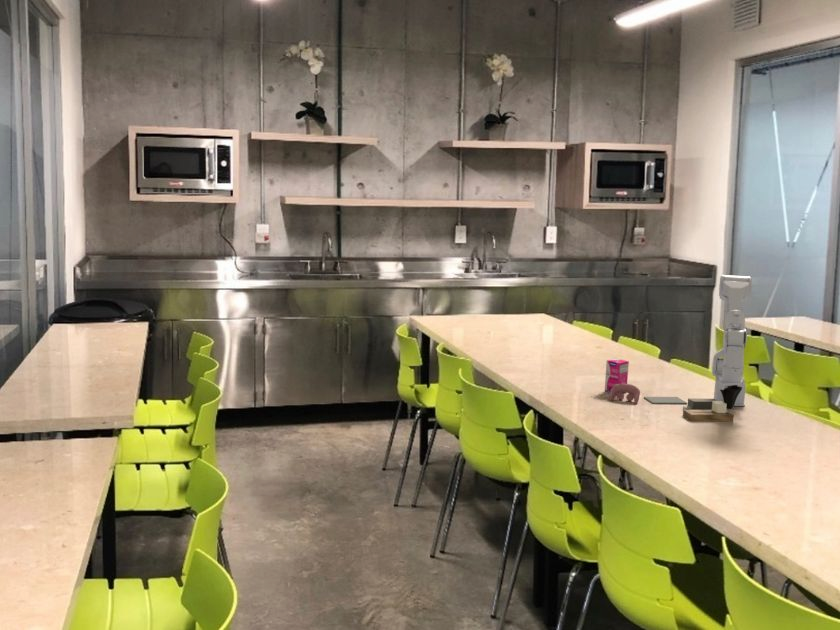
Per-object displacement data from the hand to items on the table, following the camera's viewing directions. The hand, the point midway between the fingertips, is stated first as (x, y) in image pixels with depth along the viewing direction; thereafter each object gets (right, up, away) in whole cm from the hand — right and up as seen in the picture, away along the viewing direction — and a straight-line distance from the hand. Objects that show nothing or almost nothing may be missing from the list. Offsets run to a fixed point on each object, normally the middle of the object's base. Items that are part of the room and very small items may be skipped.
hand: (728, 408), depth 269 cm
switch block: (-7, -3, 0) cm, 7 cm away
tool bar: (-5, -2, +10) cm, 11 cm away
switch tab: (-3, -1, 0) cm, 3 cm away
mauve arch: (-29, 0, +19) cm, 34 cm away
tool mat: (-14, 0, +21) cm, 25 cm away
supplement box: (-29, +2, +32) cm, 43 cm away
